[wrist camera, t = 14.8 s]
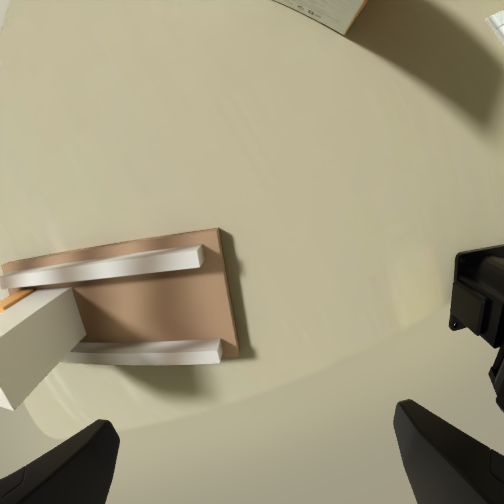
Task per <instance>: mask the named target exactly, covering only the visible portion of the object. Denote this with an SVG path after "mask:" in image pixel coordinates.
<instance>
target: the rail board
mask: <svg viewBox="0 0 504 504" xmlns="http://www.w3.org/2000/svg"><path fill="white" fill-rule="evenodd" d="M1 266H2V270H3V274H4V275H2V276H0V287H1V289H8V291H9V294H10V295H11V294H13V293H15V292H17V291H18V290H25V289H34V292H35V291H36V290H42V289H54V288H65V287H72V291H73V294H74V298H75V301H76V304H77V307H78V310H79V314H80V317H81V320H82V323H83V325H84V328H85V331H86V335H85V336H84V337H83V338H82V339H81V340H80V341H79V342H78V343H77V345H76V346H75V347H74V348H73V349H72V350H71V351H70V352H69V353H68V354H67V355H66V356H65V357H64V358H63V359H62V360H61V361H60V362H69V363H85V364H105V365H192V364H213V363H220V362H221V359H224V358H237V357H239V353H240V347H239V342H238V337H237V331H236V326H235V320H234V315H233V309H232V304H231V298H230V292H229V286H228V281H227V275H226V269H225V263H224V257H223V251H222V245H221V239H220V233H219V228H214V229H207V230H200V231H193V232H186V233H179V234H172V235H165V236H159V237H152V238H146V239H139V240H133V241H126V242H120V243H114V244H108V245H102V246H96V247H90V248H84V249H78V250H72V251H67V252H61V253H55V254H50V255H44V256H39V257H33V258H28V259H23V260H17V261H12V262H8V263H5V264H3V265H1Z"/></svg>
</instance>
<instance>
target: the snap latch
mask: <svg viewBox="0 0 504 504" xmlns="http://www.w3.org/2000/svg"><path fill="white" fill-rule="evenodd" d="M33 292H34V289H25V290H18V291H17V292H15V293H13V294H11V295H10V296H8V297H6V298H5V299H3V300H1V301H0V313H1V312H3V311H4V310H6V309H7V308H9V307H11V306H12V305H14V304H15V303H17V302H18V301H20V300H22V299H23V298H25V297H26V296H28V295H30V294H31V293H33Z"/></svg>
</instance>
